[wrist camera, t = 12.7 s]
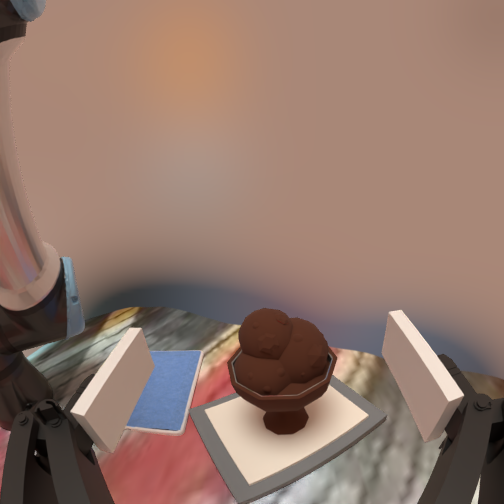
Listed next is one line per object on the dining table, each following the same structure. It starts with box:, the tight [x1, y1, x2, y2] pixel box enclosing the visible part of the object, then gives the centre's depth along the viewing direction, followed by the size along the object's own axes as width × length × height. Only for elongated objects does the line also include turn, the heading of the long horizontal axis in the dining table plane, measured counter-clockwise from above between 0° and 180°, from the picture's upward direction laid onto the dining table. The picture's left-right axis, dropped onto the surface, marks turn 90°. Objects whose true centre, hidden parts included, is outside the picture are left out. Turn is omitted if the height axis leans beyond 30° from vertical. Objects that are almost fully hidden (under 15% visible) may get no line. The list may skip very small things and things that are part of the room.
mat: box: [188, 375, 387, 504], centre depth 29 cm, size 16×20×1 cm
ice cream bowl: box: [227, 308, 337, 435], centre depth 26 cm, size 11×11×15 cm
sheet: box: [205, 385, 369, 486], centre depth 29 cm, size 13×16×1 cm
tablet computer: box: [125, 350, 204, 436], centre depth 38 cm, size 19×13×1 cm, turn 179°
